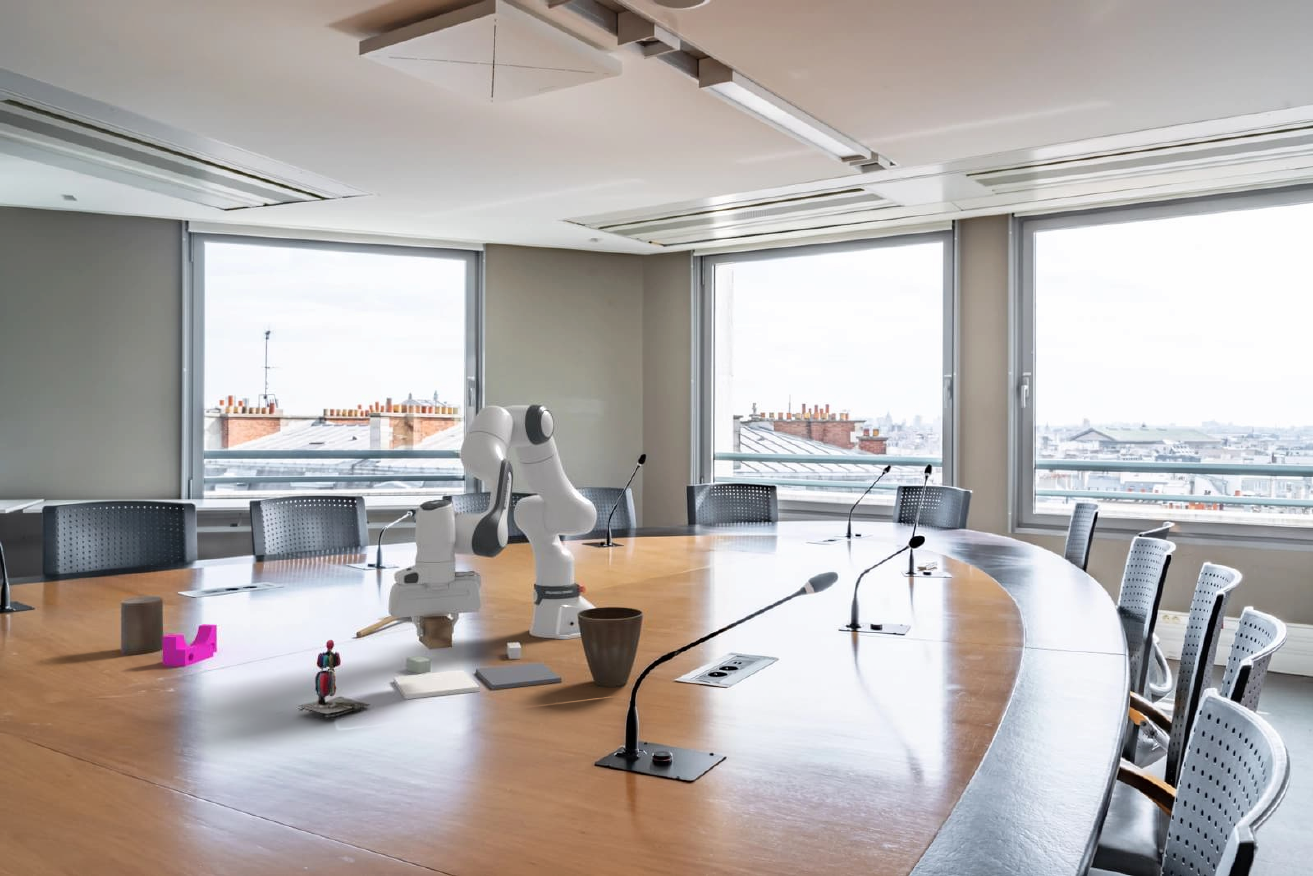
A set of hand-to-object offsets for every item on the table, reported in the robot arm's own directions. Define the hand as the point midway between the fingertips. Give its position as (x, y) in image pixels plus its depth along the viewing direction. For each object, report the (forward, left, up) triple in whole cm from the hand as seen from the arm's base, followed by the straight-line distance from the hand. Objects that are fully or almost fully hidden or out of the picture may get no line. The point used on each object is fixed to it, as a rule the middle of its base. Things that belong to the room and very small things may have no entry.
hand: (435, 634), depth 215 cm
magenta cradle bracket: (+50, -50, -12) cm, 71 cm away
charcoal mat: (-19, 0, -12) cm, 22 cm away
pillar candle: (+63, -64, -12) cm, 91 cm away
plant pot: (-37, +13, -12) cm, 41 cm away
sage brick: (+1, -16, -12) cm, 20 cm away
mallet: (-4, -71, -13) cm, 72 cm away
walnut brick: (0, 0, -2) cm, 2 cm away
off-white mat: (0, 0, -12) cm, 12 cm away
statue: (+23, +11, -12) cm, 28 cm away
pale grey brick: (-24, -21, -12) cm, 34 cm away
